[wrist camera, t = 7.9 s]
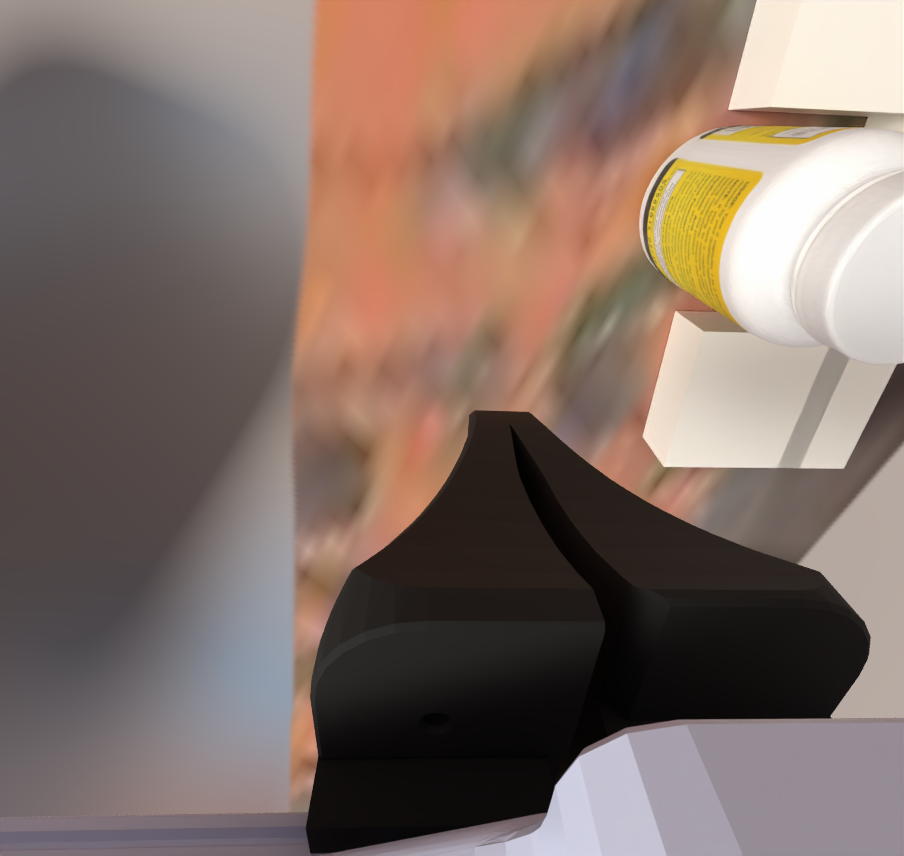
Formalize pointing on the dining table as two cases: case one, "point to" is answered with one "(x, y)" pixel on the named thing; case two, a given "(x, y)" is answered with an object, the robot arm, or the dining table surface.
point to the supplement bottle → (788, 233)
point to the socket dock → (730, 346)
